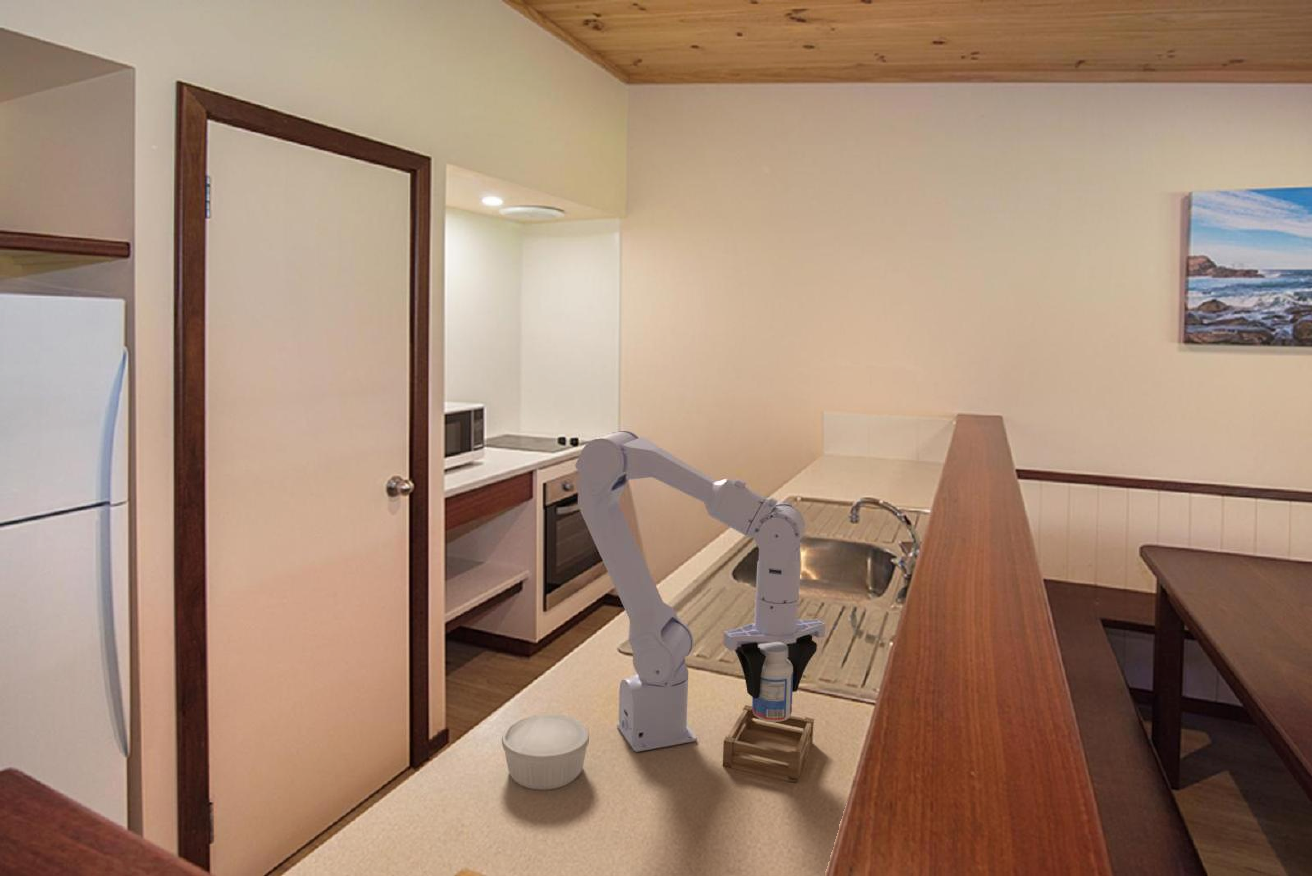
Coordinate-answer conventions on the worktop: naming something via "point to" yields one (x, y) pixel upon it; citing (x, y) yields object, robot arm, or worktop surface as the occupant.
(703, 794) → the worktop surface
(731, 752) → the crate
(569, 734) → the ramekin
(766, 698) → the pill bottle
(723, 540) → the worktop surface
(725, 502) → the robot arm
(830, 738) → the worktop surface
